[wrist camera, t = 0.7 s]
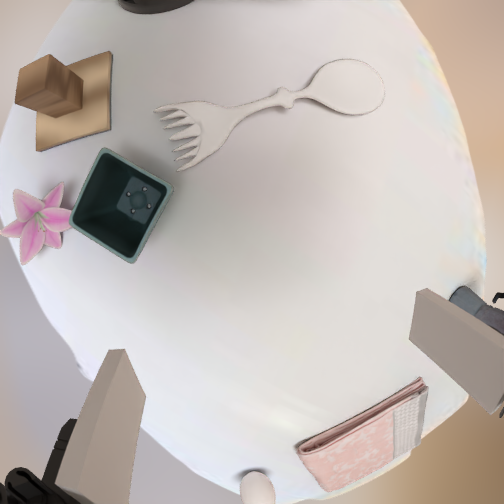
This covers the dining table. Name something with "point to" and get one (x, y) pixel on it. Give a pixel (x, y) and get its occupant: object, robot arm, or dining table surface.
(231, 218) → the dining table surface
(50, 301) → the dining table surface
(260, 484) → the white tall oval piece
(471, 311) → the moka pot
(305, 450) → the towel
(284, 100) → the white spork
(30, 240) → the lily
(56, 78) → the lid
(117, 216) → the flower pot
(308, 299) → the dining table surface
